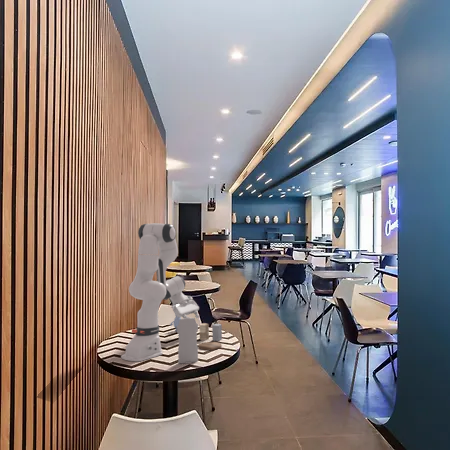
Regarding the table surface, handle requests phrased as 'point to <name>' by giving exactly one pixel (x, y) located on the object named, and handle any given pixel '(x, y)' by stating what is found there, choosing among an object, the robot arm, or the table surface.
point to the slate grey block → (217, 332)
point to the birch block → (204, 331)
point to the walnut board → (209, 346)
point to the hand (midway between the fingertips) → (193, 319)
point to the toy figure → (176, 322)
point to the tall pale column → (187, 340)
